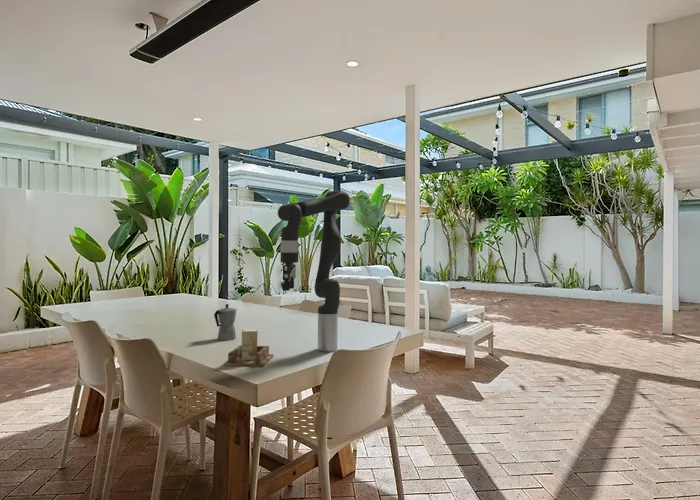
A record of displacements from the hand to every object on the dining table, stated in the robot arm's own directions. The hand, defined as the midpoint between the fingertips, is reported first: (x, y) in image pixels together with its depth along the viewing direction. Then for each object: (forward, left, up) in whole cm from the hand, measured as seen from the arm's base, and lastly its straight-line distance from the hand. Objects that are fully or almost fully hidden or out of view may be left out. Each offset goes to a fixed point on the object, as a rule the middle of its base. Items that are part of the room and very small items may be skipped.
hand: (289, 289), depth 185 cm
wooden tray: (+3, -16, -30) cm, 34 cm away
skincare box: (+4, -16, -29) cm, 34 cm away
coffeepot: (-36, -41, -30) cm, 62 cm away
